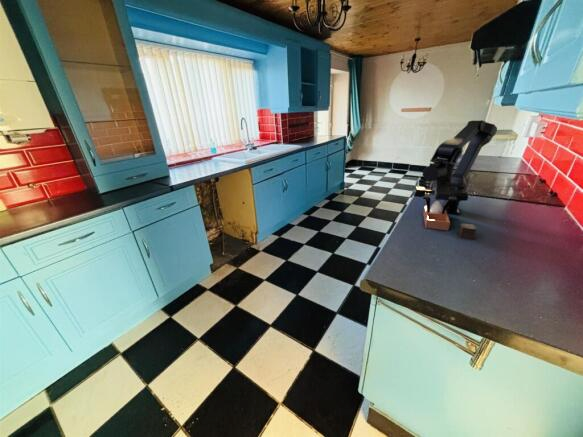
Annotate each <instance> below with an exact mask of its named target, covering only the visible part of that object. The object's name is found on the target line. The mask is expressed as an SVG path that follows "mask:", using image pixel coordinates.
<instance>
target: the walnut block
mask: <svg viewBox="0 0 583 437" xmlns="http://www.w3.org/2000/svg"><path fill="white" fill-rule="evenodd" d="M458 228H459V229H458V236H459V238H461V239H468V240H469V239H470V240H474V239H475V236H476V232H477V228H476V226H475V224H471V223H463V222H460V225H459V227H458Z"/></svg>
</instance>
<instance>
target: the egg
mask: <svg viewBox="0 0 583 437" xmlns="http://www.w3.org/2000/svg"><path fill="white" fill-rule="evenodd" d="M429 211H430V213H437V214H441V213H442V211H443V203H442V202H441V200H435V201H433V202H432V203H430V210H429Z"/></svg>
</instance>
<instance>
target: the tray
mask: <svg viewBox="0 0 583 437" xmlns="http://www.w3.org/2000/svg"><path fill="white" fill-rule="evenodd" d="M423 208H424V209H423V212H422V214H423V221H424V228H426V229H431V230H441V231H449V229H450V225H451V220H450V218H449V215H448V213H447V212H446V210H445V211H444V213H441V214H437V213H430V211H429V212H428V209H427V205H425V206H424V207H423Z"/></svg>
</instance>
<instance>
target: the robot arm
mask: <svg viewBox="0 0 583 437" xmlns="http://www.w3.org/2000/svg"><path fill="white" fill-rule="evenodd" d="M497 132H498V127H497V126H496V124H495V123H490V122H487V121H485V120H483V119H471V120H469V121H468V122H467V124H466V125H465V126H464V127H463V128H462V129H461V130H460V131H459V132H458V133H456V135H455V136H454V137H452V138H450V139H447V140H445V141H443V142H442V143H440V144H439V145H438V147H437V148H436V150H435V151H434V153H433V155H432V157H431V158H430V163H429V166H426V167H425V168H424V169H423V171H422V177H423V179H424V180H425V181H427V182H433V184H432V187H431V188H432V189H426V187H425V186H415V187H414V188H413V197H417V198H422V199H423V200H425V203H426V206H427V209H428V212H429V210H430V205H431V199H432V198H431V196H434V200H435V201H443V203H442V205H443V211H442V213H444V211H445V210H446V212H447V214H457V215H458V214H460V211H459V206H460V203H461V202H463V201H464V202H467V201H468V200H469V193H468V191H467V186H468V185H467V180H466V178H467V176H468V174H469V173H470V171H471V169H472V168H473V165H474V163H475V161H476V159H477V158H478V156H479V154H480V151H481V150H482V149H483V147H484V146H486V145H487V144H489V143H490V142H491V141H492V139H493V137H495V135H496V134H497ZM467 144H468V145H467ZM466 145H467V147H466V149H465V150H464V147H465V146H466ZM463 151H464V153H463ZM460 157H461V158H460ZM459 159H460V161H459V163H458V160H459ZM456 164H457V166H456ZM455 166H456V168H455Z"/></svg>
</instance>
